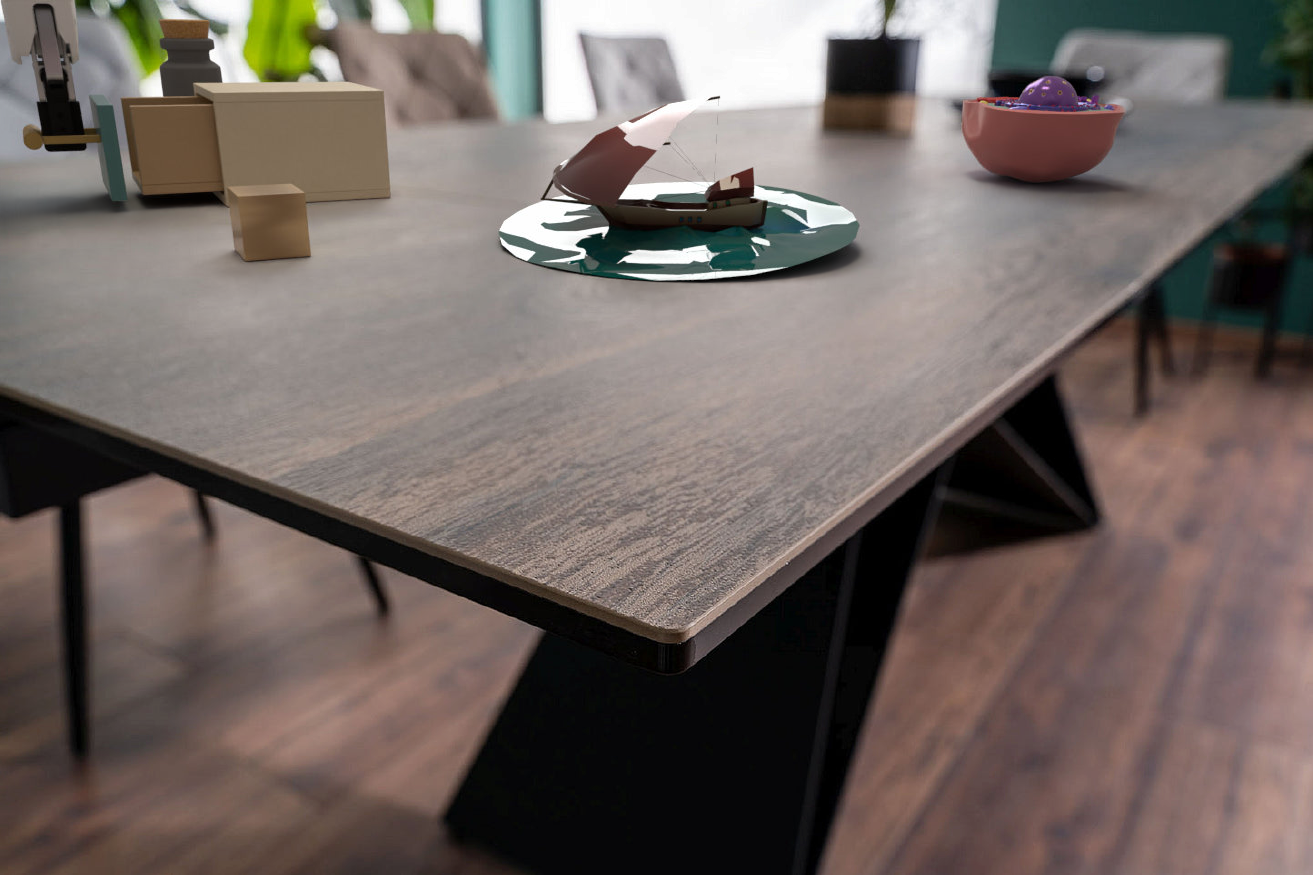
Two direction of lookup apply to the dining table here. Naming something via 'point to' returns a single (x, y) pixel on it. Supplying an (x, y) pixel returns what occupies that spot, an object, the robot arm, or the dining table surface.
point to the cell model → (1040, 131)
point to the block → (269, 221)
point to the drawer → (151, 144)
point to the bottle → (186, 56)
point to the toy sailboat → (669, 215)
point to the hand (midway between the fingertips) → (66, 149)
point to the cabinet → (302, 137)
